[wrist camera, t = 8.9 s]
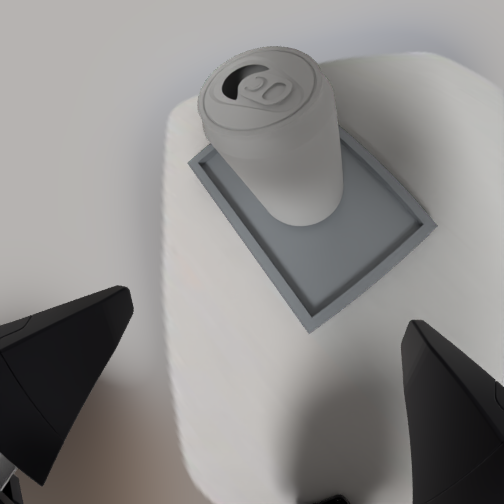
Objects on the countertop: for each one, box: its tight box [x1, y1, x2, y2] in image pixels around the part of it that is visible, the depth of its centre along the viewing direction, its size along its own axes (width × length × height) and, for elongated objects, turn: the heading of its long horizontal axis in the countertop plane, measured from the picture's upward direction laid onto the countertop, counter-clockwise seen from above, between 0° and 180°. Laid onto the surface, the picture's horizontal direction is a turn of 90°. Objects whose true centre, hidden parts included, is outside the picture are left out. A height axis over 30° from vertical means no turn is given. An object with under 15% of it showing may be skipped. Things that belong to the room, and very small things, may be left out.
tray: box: [188, 125, 437, 334], centre depth 22 cm, size 18×12×2 cm, turn 35°
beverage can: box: [198, 46, 343, 226], centre depth 16 cm, size 6×6×12 cm
